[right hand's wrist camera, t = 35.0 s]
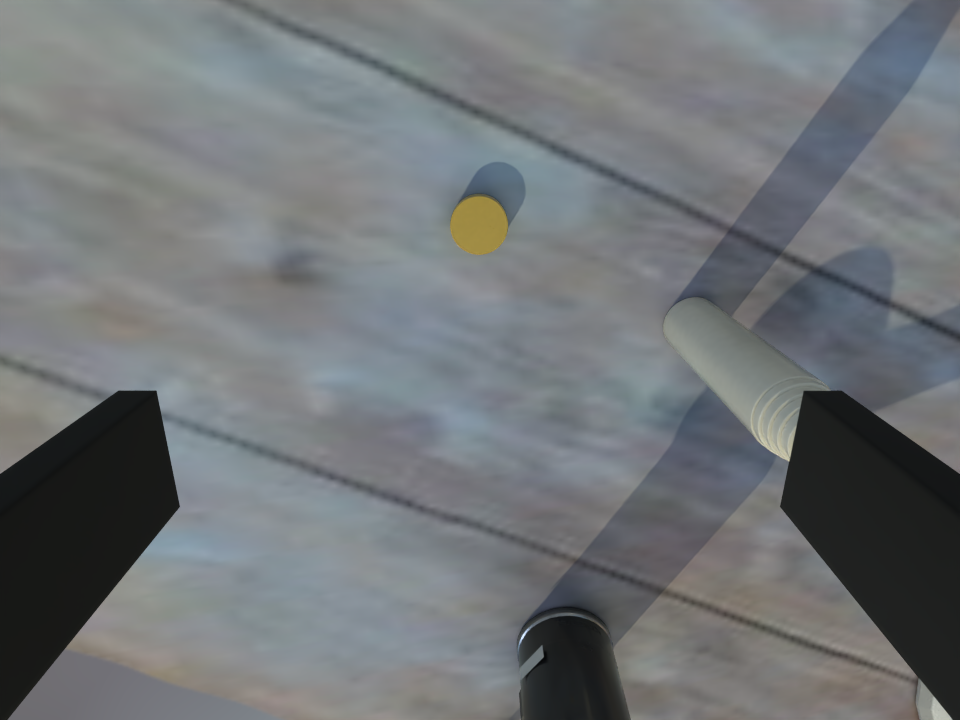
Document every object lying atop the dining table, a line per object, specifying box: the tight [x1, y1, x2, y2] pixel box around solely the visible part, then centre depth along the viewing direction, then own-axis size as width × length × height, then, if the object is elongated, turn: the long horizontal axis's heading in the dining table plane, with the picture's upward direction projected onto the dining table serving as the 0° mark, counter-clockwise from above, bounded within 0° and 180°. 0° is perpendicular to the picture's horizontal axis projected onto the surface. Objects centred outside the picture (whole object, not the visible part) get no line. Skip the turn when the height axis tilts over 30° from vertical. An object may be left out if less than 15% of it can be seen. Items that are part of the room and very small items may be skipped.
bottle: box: [663, 297, 831, 461], centre depth 38 cm, size 5×5×23 cm
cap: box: [450, 194, 508, 255], centre depth 45 cm, size 4×4×2 cm
